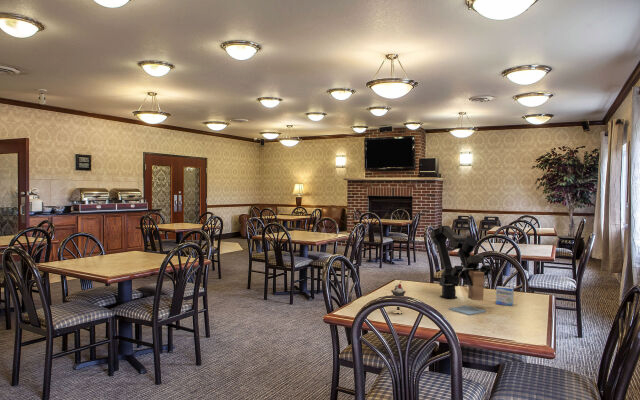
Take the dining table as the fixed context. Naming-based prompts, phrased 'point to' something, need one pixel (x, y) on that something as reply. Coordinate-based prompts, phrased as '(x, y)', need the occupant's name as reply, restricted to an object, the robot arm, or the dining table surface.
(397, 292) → the sundae
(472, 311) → the slate mat
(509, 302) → the medicine box
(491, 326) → the dining table surface
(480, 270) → the robot arm
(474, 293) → the walnut block
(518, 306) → the dining table surface
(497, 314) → the dining table surface
